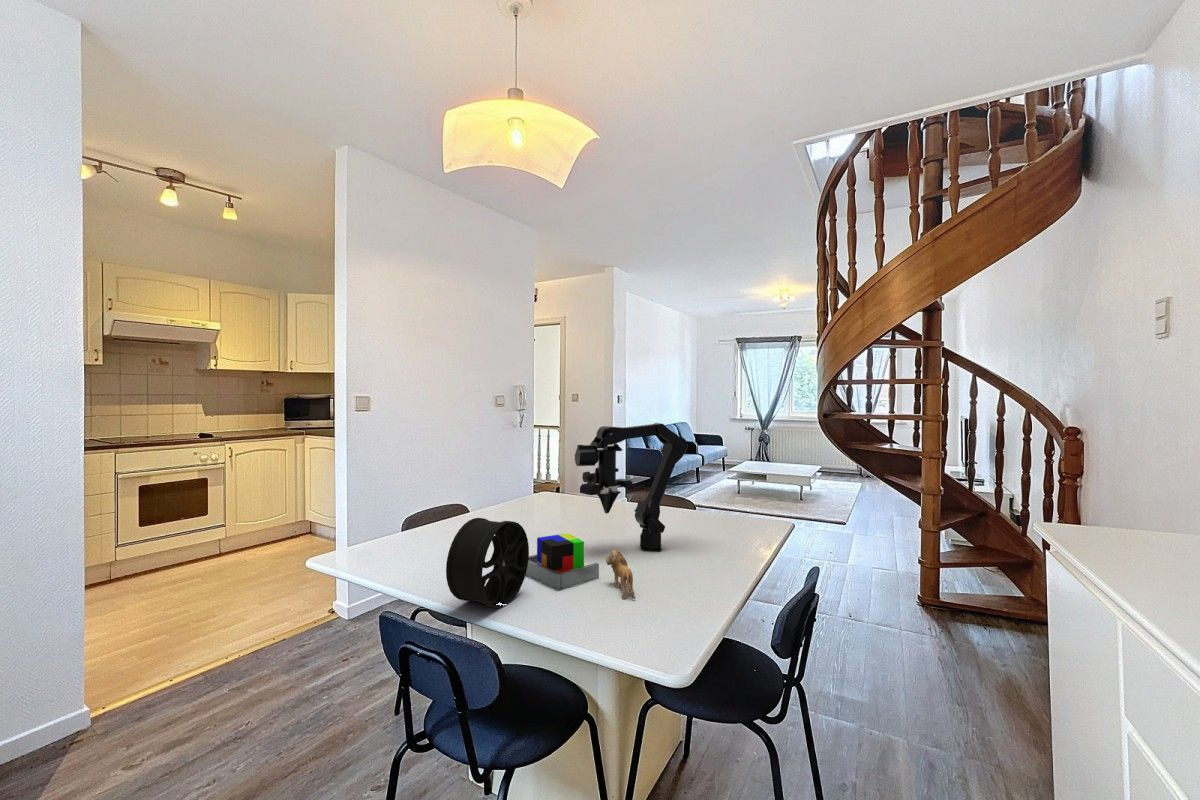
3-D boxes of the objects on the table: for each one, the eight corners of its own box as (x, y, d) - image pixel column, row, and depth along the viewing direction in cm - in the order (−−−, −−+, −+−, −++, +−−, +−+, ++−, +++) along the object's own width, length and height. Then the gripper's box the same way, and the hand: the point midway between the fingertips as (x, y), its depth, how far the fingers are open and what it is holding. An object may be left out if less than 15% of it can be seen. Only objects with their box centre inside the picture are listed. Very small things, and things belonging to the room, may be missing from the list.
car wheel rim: (481, 621, 113) (481, 532, 113) (445, 613, 117) (446, 527, 117) (528, 590, 131) (529, 514, 131) (496, 584, 135) (496, 510, 135)
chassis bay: (558, 561, 154) (558, 548, 154) (598, 578, 141) (598, 563, 141) (519, 572, 145) (519, 558, 145) (558, 590, 131) (558, 575, 131)
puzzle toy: (536, 572, 145) (537, 537, 145) (567, 566, 150) (568, 533, 150) (551, 583, 137) (551, 546, 137) (583, 576, 142) (584, 541, 142)
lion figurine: (603, 582, 137) (603, 549, 137) (621, 579, 139) (621, 547, 139) (625, 602, 124) (626, 566, 124) (645, 599, 126) (645, 563, 126)
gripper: (611, 460, 176) (610, 505, 176) (569, 464, 163) (568, 513, 163) (634, 463, 167) (633, 510, 167) (591, 468, 155) (591, 519, 155)
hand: (606, 513), depth 163 cm, fingers closed
